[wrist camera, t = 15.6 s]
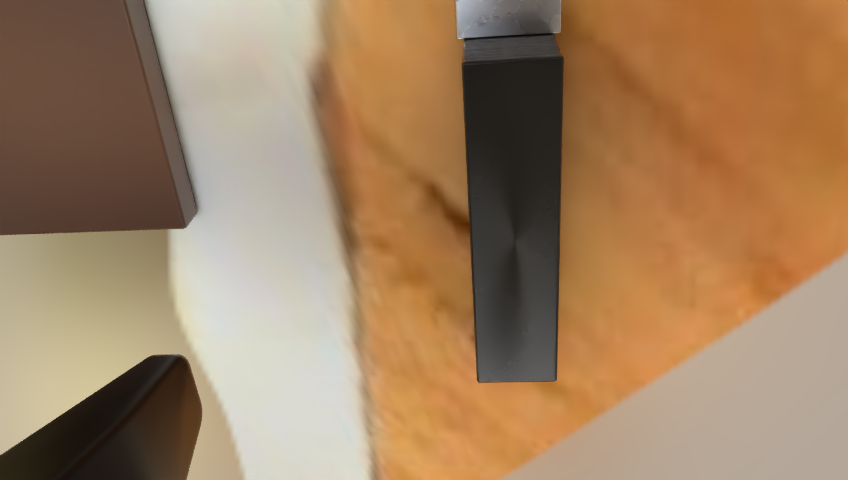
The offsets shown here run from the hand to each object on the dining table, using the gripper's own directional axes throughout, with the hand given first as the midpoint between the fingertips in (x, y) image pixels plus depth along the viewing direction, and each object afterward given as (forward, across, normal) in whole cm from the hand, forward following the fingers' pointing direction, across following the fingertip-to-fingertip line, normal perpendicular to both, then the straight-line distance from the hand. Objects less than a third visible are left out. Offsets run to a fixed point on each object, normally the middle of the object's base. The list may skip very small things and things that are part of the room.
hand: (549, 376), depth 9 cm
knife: (+11, 0, -3) cm, 11 cm away
